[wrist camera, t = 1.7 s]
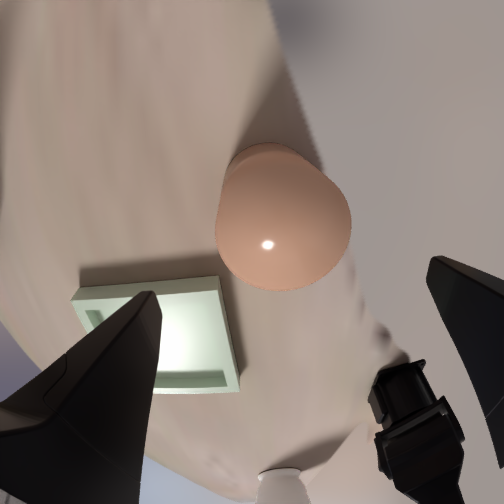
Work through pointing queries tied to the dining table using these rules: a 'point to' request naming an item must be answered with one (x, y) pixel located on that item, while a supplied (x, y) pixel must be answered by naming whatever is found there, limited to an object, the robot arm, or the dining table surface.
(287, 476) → the jar
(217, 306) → the tray
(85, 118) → the dining table surface
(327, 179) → the pink rounded cylinder
